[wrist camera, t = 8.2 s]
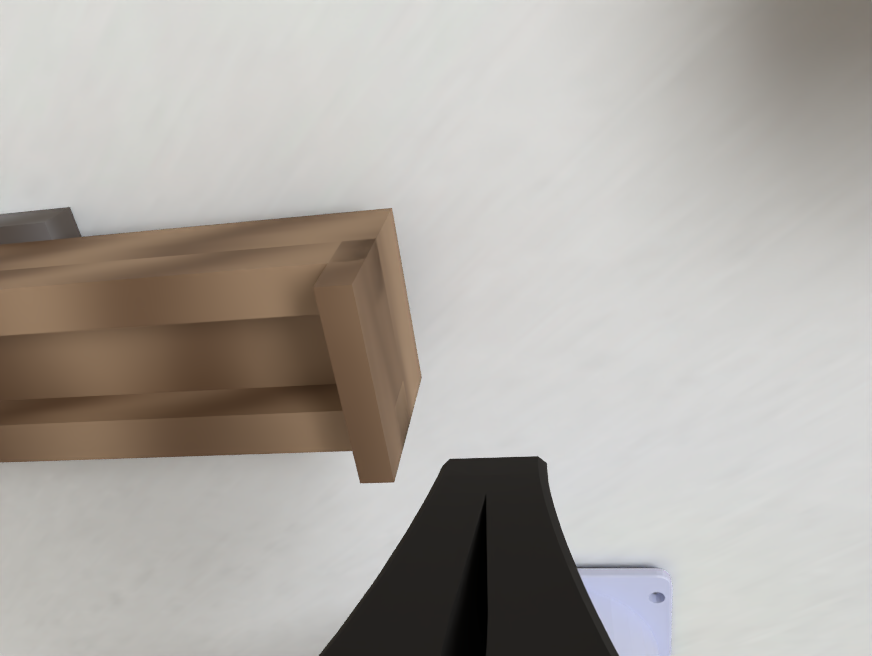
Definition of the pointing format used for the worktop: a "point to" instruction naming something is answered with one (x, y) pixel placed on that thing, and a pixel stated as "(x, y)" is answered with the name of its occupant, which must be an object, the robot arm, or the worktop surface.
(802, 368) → the worktop surface
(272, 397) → the beam
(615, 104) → the worktop surface
